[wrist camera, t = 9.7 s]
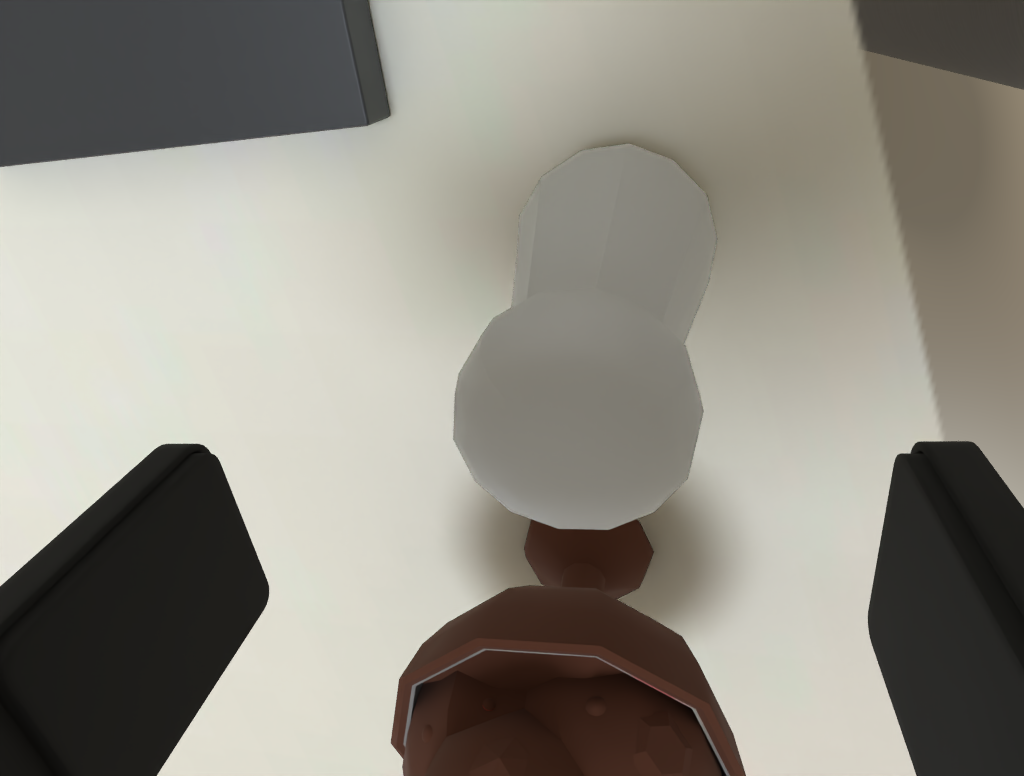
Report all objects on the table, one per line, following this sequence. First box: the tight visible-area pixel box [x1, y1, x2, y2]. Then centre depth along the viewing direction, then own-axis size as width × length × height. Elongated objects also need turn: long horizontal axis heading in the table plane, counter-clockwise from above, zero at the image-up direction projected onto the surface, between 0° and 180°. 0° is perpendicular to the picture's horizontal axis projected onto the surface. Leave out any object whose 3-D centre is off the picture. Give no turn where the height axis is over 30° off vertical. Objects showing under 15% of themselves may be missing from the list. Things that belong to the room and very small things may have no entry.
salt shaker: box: [453, 144, 717, 530], centre depth 16 cm, size 6×6×13 cm
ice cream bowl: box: [391, 519, 746, 776], centre depth 22 cm, size 11×11×15 cm
